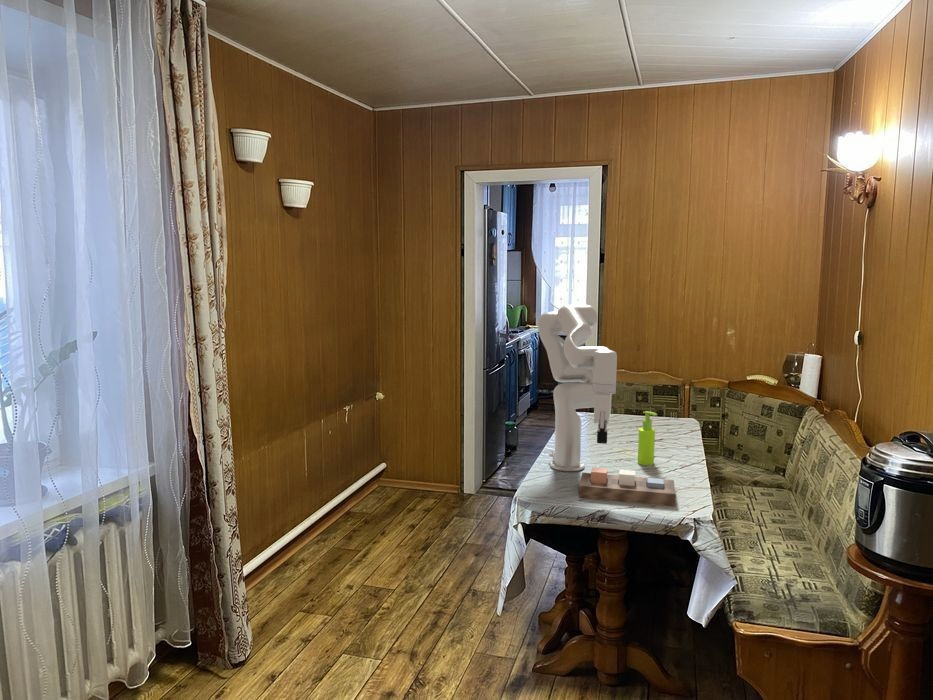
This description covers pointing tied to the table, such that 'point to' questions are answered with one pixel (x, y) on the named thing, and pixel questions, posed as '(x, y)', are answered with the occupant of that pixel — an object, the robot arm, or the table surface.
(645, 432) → the soap dispenser
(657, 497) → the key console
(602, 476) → the terracotta key
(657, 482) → the slate key
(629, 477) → the ivory key
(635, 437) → the table surface
